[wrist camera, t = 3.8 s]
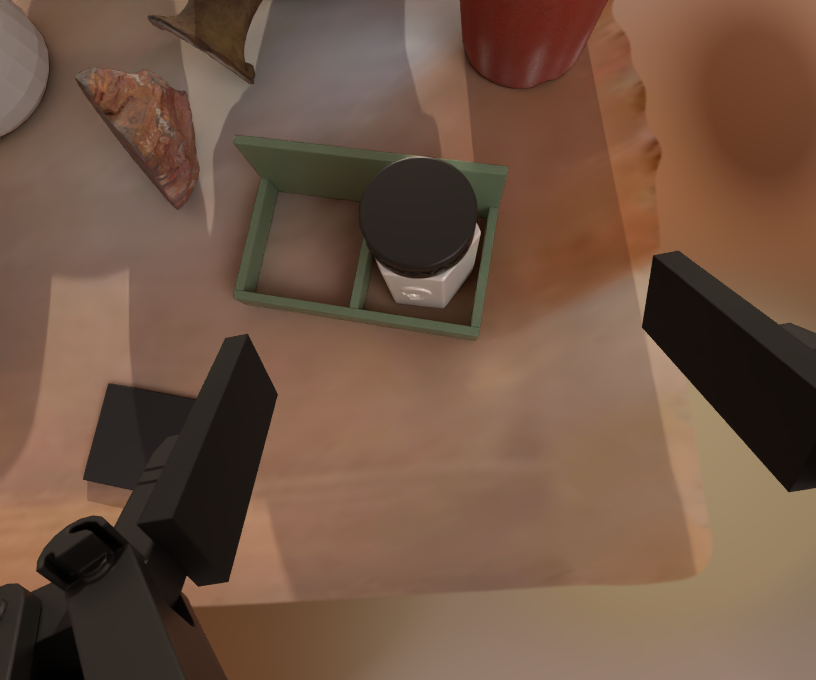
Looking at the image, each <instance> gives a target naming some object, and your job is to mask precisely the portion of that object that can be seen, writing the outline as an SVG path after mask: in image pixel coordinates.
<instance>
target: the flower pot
mask: <svg viewBox="0 0 816 680" xmlns="http://www.w3.org/2000/svg"><path fill="white" fill-rule="evenodd" d="M607 1H608V0H460V9H461V24H462V37H463V44H464V47H465V50H466V52H467V55H468V57H469V60H470V62H471V64H472V65H473V67H474V68H475V69H476V70H477V71H478V72H479V73H480V74H481V75H483V76H484V77H485V78H487V79H489V80H491V81H492V82H495V83H497V84H499V85H503V86H506V87H512V88H533V87H535V86H536V85H538V84H540V83H542V82H545V81H548V80H555V79H557V78H559V77H560V76H562V75H563V74H564V73H566V72H567V71H568V70H569V69H570V68H571V67H572V66H573V65H574V64H575V62H576V61H577V60H578V58H579V56H580V55H581V53H582V51H583V49H584V47H585V45H586V43H587V41H588V39H589V37H590V35H591V33H592V31H593V29H594V27H595V25H596V23H597V21H598V19H599V17H600V15H601V13H602V11H603V9H604V7H605V5H606V3H607Z"/></svg>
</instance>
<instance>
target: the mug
mask: <svg viewBox="0 0 816 680" xmlns="http://www.w3.org/2000/svg"><path fill="white" fill-rule="evenodd" d="M48 76H49V60H48V50H47V47H46V44H45V42H44V39H43V37H42V35H41V34H40V32H39V31H38V30H37V28H36V27H35V26H34V25H33V23H32V22H31V21H30V20H29V18H28V17H27V16H26V15H25V13H24V12H23V11H22V10H21V9H20V8H19V7H18V6H17V5H16V4H14V3H13V2H12V1H11V0H0V137H1V136H3V135H5V134H7V133H9V132H11V131H13V130H15V129H16V128H17V127H18V126H20V125H21V124H22V123H23V122H25V121H26V120H27V119H28V118H29V117H30V115H31V114H32V113H33V111H34V110H35V109H36V108H37V106H38V105H39V103H40V101H41V99H42V97H43V94H44V92H45V90H46V85H47V81H48Z"/></svg>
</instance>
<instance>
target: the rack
mask: <svg viewBox="0 0 816 680" xmlns="http://www.w3.org/2000/svg"><path fill="white" fill-rule="evenodd" d="M233 143H234V145H235V146H236V147H237V148H238V150H239V151H240V152H241V153H242V155H243V156H244V157H245V158H246V159H247V161H248V162H249V163H250V164H251V166H252V167H253V168H254V169H255V171H256V172H257V173H258V174H259V176H260V177H261V179H260V183H259V188H258V192H257V196H256V201H255V205H254V209H253V213H252V218H251V222H250V226H249V230H248V235H247V239H246V243H245V248H244V252H243V256H242V260H241V265H240V269H239V273H238V277H237V282H236V286H235V290H234V294H233V298H234V299H236V300H238V301H240V302H242V303H244V304H247V305H254V306H260V307H266V308H272V309H279V310H285V311H291V312H297V313H304V314H310V315H316V316H323V317H329V318H335V319H341V320H348V321H354V322H360V323H366V324H373V325H379V326H385V327H391V328H398V329H404V330H410V331H416V332H423V333H429V334H435V335H441V336H448V337H454V338H460V339H466V340H473V341H476V340H477V338H478V336H479V330H480V324H481V317H482V311H483V304H484V298H485V291H486V285H487V278H488V272H489V266H490V259H491V253H492V246H493V240H494V233H495V227H496V221H497V214H498V207H499V204H500V200H501V196H502V193H503V189H504V185H505V182H506V178H507V173H508V166H500V165H492V164H483V163H474V162H466V161H457V160H449V159H440V158H437V159H440V160H443V161H445V162H448V163H449V164H451V165H453V166H454V167H456V168H457V169H458V170H459V171H461V172H462V173H463V175H464V176H465V177H466V178H467V179H468V181H469V182H470V184H471V186H472V188H473V190H474V193H475V196H476V200H477V206H478V216H477V217H484V218H487V221H486V227H485V234H484V240H483V246H482V253H481V259H480V265H479V271H478V278H477V284H476V290H475V297H474V303H473V309H472V316H471V322H470V326H464V325H457V324H451V323H445V322H438V321H432V320H425V319H419V318H413V317H406V316H400V315H393V314H387V313H381V312H374V311H368V310H364V305H365V300H366V295H367V290H368V284H369V279H370V274H371V269H372V264H373V258H374V256H373V255H372V254H371V251H369V249H368V247H367V245H366V241H365V239H364V237H363V240H362V245H361V250H360V255H359V260H358V265H357V270H356V275H355V280H354V286H353V291H352V296H351V301H350V306H349V307H350V308H349V307H342V306H336V305H330V304H323V303H317V302H310V301H304V300H298V299H291V298H285V297H278V296H272V295H266V294H259V293H255V291H256V287H257V282H258V278H259V273H260V269H261V265H262V260H263V256H264V251H265V247H266V243H267V238H268V234H269V229H270V225H271V221H272V216H273V212H274V207H275V203H276V199H277V194H278V191H283V192H290V193H298V194H306V195H314V196H321V197H329V198H337V199H345V200H352V201H361V198H362V195H363V192H364V190H365V188H366V186H367V185H368V183H369V182H370V180H371V179H372V178H373V177H374V176H375V175H376V174H377V173H378V172H379V171H380V170H381V169H383V168H384V167H386V166H387V165H389V164H391V163H393V162H395V161H397V160H400V159H403V158H407V157H413V156H414V155H406V154H397V153H388V152H380V151H371V150H363V149H354V148H345V147H337V146H328V145H319V144H311V143H302V142H294V141H285V140H276V139H268V138H259V137H251V136H242V135H235V138H234V142H233Z"/></svg>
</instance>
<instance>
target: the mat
mask: <svg viewBox="0 0 816 680" xmlns="http://www.w3.org/2000/svg"><path fill="white" fill-rule="evenodd" d="M195 401H196V399H191V398H185V397H180V396H175V395H169V394H164V393H159V392H153V391H148V390H143V389H137V388H132V387H127V386H121V385H116V384H108V387H107V391H106V394H105V398H104V402H103V406H102V409H101V413H100V417H99V421H98V424H97V428H96V432H95V436H94V439H93V443H92V447H91V451H90V455H89V458H88V462H87V466H86V470H85V473H84V477H83V480H87V481H92V482H97V483H101V484H106V485H111V486H115V487H120V488H125V489H129V490H134V488H135V487H136V486H137V482H138V480H139V478H140V476H141V474H142V473H144V472H145V470H144V469H145V467H146V465H147V463H148V461H149V459H150V457H151V455H152V453H153V452H154V451H155V450H156V449H157V448H158V446H159V445H160V444H161V443H162V442H163V441H164V440H165V439H166V438H167V437H169V436H174V435H179V434H180V432H181V430H182V428H183V426H184V424H185V422H186V420H187V417H188V415H189V413H190V411H191V409H192V407H193V405H194V403H195Z"/></svg>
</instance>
